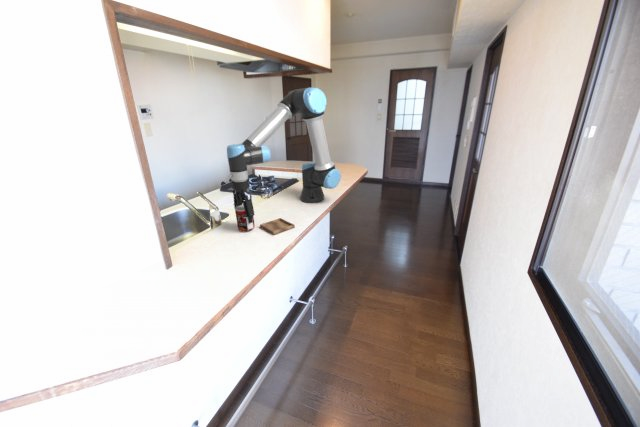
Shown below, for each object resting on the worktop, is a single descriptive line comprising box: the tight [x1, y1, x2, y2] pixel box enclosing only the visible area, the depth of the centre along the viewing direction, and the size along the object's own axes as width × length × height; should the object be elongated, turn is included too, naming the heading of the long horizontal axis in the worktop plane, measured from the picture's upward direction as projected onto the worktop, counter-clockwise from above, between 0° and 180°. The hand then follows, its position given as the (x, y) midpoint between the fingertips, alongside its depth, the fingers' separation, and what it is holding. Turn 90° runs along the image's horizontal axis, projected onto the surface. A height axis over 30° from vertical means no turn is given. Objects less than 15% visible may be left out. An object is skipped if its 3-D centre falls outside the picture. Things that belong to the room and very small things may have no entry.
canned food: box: [234, 205, 256, 233], centre depth 129 cm, size 8×8×11 cm
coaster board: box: [259, 218, 295, 236], centre depth 132 cm, size 12×12×2 cm
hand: (246, 226), depth 131 cm, fingers closed on canned food, 8 cm apart
